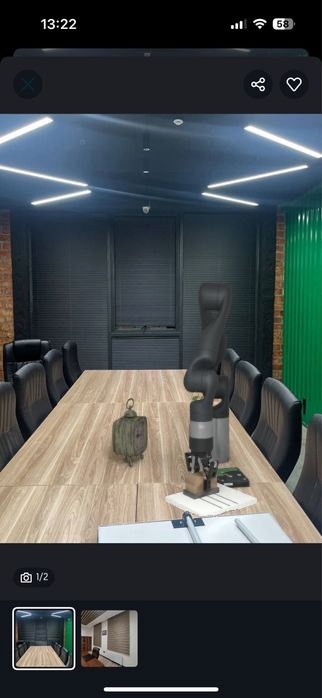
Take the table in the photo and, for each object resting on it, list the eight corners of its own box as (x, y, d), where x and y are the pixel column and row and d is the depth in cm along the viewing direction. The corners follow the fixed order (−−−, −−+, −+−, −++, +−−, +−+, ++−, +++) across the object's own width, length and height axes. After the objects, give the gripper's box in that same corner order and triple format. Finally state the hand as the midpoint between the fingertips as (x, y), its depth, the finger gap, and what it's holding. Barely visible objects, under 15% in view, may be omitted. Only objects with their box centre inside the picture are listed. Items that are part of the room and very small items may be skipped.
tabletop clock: (133, 468, 186) (132, 402, 184) (111, 466, 189) (110, 400, 187) (147, 458, 199) (147, 395, 198) (127, 456, 203) (126, 394, 201)
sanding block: (194, 499, 150) (194, 480, 150) (183, 494, 155) (182, 475, 154) (219, 492, 156) (219, 473, 156) (207, 487, 161) (207, 469, 160)
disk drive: (250, 488, 166) (237, 474, 180) (250, 480, 165) (237, 466, 180) (219, 490, 164) (209, 475, 179) (219, 482, 164) (209, 467, 179)
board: (165, 501, 153) (165, 496, 153) (216, 487, 166) (216, 482, 165) (203, 520, 139) (203, 515, 139) (257, 503, 151) (257, 498, 151)
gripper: (226, 437, 151) (226, 492, 152) (195, 428, 162) (196, 480, 163) (207, 440, 146) (207, 498, 148) (177, 431, 158) (177, 484, 159)
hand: (201, 488), depth 155 cm, fingers closed on sanding block, 4 cm apart
